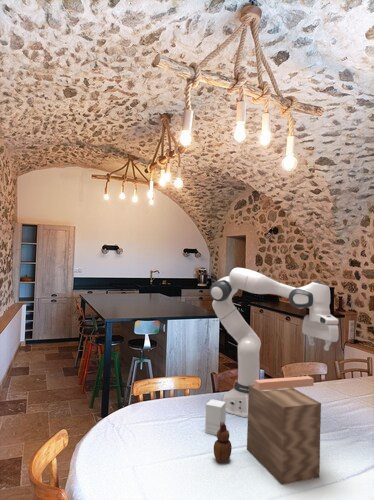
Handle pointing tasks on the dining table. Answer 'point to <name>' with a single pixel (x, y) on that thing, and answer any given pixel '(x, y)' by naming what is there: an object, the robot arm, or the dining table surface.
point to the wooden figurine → (222, 444)
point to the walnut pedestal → (284, 433)
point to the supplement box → (214, 416)
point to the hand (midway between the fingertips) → (318, 347)
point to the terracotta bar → (283, 383)
